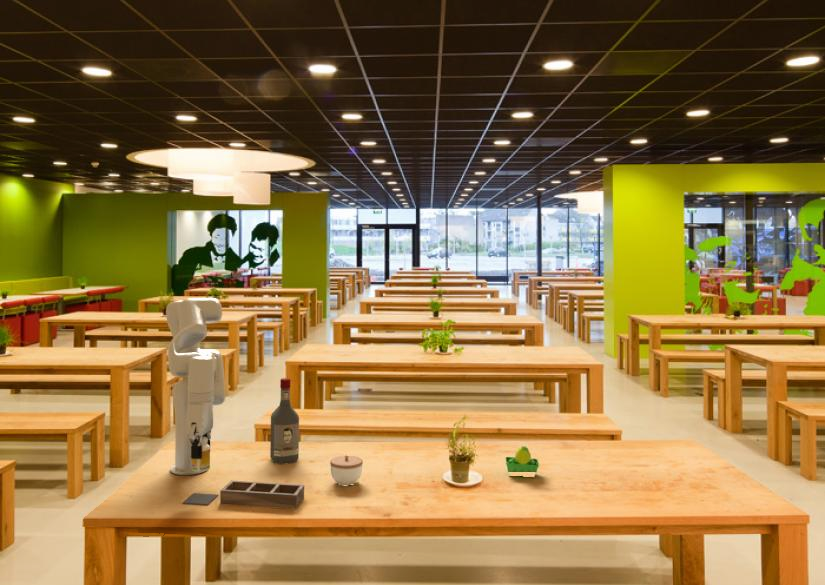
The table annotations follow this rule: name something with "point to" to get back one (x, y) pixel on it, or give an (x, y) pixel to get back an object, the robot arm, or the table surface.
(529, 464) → the fruit basket
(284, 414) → the liquor
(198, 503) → the mat
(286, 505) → the rack
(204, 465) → the supplement bottle
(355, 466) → the lidded jar
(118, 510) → the table surface
